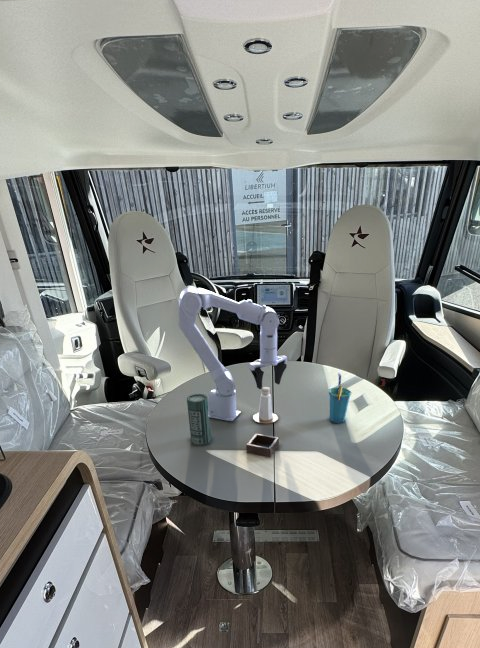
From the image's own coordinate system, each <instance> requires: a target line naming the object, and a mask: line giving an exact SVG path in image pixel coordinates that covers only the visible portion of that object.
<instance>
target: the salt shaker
mask: <svg viewBox="0 0 480 648" xmlns="http://www.w3.org/2000/svg"><path fill="white" fill-rule="evenodd" d="M270 390H271V388H270V387H268V386H262V389H261V394H260V397H259V398H260V399H259V408H258V410H259V411H258V413H259V419H261V420H270V419H272V418H273V415H272V413H273V405H272V404H273V403H272V394H270Z"/></svg>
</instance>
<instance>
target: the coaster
mask: <svg viewBox="0 0 480 648" xmlns="http://www.w3.org/2000/svg"><path fill="white" fill-rule="evenodd" d="M272 415H273V418H272V419H270V420H261V419H259V412H257V413H255V414H254V415H253V416H252V420H253V421H254V422H255V423H256V424H261V425H271V424H274V423H276V422H277V421H278V420H279V416H278V415H277V414H276V413H274V412H272Z"/></svg>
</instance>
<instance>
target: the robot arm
mask: <svg viewBox="0 0 480 648" xmlns="http://www.w3.org/2000/svg"><path fill="white" fill-rule="evenodd" d="M211 307H214V308H217V309H220V310H224V311H227V312H230V313H234V314H236V315H237V318H238V320H242V321H245V322H248V323H251V324H253V325H257V326H258V325H260V332H259V350H260V351H259V359H256V360H254V361H253V362H249V364H248V369H249V370H250V372H251V374H252V376H253V378H254V381H255V384H256V388H257V389H259V390H262V388H263V377H264V375H265V374H264V373H265V372H264V371H263V370H262V368H266V367H270V366H273V371H274V372H273V373H274V384H276V385H280V384H281V380H282V377H283V374H284V373H285V371H286V369H287V366H288V365H287V363H288V356H287V355H285V354H284V355H278V327H279V325H280V318H279V316H278V314H277V312H276V311H275V309H273V308H272V307H270V306H266V305H265V304H262V305H260V304H258V303H254V302H253V300H252V299H249V298H248V299H247V300H245V299H243V300H241V301H239V302H238V301H236V300H233V299H231V298H228V297H225V296H223V295H221V294H218V293H215V292H214V291H210V290H208V289H205V288H202V287H198V288H197V287H196V286H194V285H187V286H184V287H183V288H182V290H181V292H180V295H179V299H178V327H179V329H180V330H181V332H182V334H183V335H184V336H185V338H186V339H187V340H188V342H189V344H190V346H191V347H192V349H193V350H194V351H195V353H196V354H197V356H198V357H199V359H200V361H201V362H202V363H203V365H204V366H205V367H206V369H207V371H208V372H209V373H210V375H211V378H212V381H213V382H214V383H215V386H216V388H215V389H212V390H210V391H209V393H208V396H207V397H208V410H209V419H210V418H211V419H216V420H221V421H228V422H233V421H234V420H235V419H236V418H237V417H238V416H239V415H240V414H241V411H240V410H237V391H236V384H235V382H234V381H235V380H234V377H233V373H232V372H231V371H230V370H229V369H227V368H225V366H224V364H222V363H221V361H220V360H219V358H218V357H217V355H216V353H215V352H214V351H213V349H212V348H211V346H210V344H209V343H208V341H207V340H206V338H205V337H204V335H203V334H202V332H201V330H200V329H199V327H198V326H197V324H196V320H197V315H198V314H199V313H200V311H201V309H203V310H204V311H205V310H207V309H209V308H211Z"/></svg>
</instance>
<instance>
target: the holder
mask: <svg viewBox="0 0 480 648" xmlns="http://www.w3.org/2000/svg"><path fill="white" fill-rule="evenodd" d="M257 444H261V445H257ZM262 445H266V446H262ZM245 446H246V449H245V450H246V454H250V455H255V456H260V457H265V458H271V457H272V456H273V455H274V454H275V452H276V451H277V449H278V448H279V446H280V437H278V436H274V435H273V436H272V435H266V434H261V433H255V434H254V435H253V436H252V437H251V439H249V441H248V442H247V443H246V445H245ZM267 446H269V447H267Z"/></svg>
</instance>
